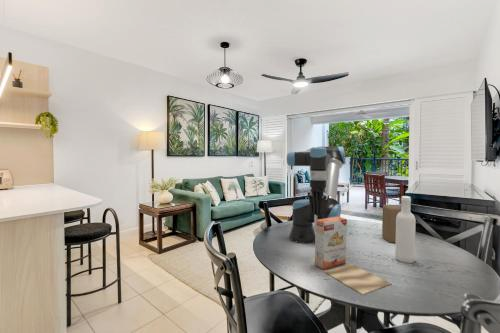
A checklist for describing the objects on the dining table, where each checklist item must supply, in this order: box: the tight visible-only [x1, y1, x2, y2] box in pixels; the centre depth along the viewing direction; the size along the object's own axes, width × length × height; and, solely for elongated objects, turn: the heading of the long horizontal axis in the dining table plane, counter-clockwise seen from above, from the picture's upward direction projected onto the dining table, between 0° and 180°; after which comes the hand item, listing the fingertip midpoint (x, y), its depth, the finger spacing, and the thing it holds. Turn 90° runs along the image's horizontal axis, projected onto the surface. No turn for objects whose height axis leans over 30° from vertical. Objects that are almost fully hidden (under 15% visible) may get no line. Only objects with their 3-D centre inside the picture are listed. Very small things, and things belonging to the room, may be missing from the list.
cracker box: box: [314, 216, 348, 270], centre depth 111 cm, size 14×6×21 cm, turn 117°
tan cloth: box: [323, 263, 393, 296], centre depth 99 cm, size 19×16×1 cm
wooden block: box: [381, 204, 402, 244], centre depth 142 cm, size 10×10×20 cm
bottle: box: [394, 195, 417, 264], centre depth 115 cm, size 8×8×30 cm
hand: (317, 227), depth 118 cm, fingers closed
